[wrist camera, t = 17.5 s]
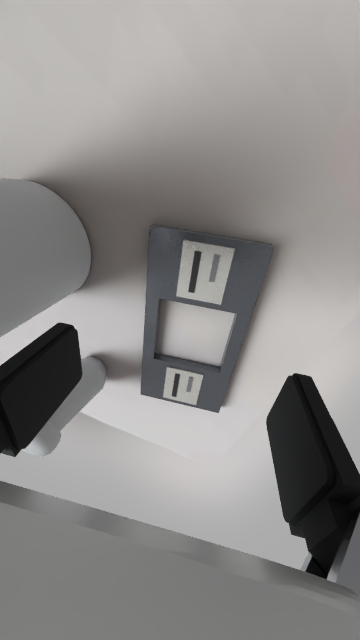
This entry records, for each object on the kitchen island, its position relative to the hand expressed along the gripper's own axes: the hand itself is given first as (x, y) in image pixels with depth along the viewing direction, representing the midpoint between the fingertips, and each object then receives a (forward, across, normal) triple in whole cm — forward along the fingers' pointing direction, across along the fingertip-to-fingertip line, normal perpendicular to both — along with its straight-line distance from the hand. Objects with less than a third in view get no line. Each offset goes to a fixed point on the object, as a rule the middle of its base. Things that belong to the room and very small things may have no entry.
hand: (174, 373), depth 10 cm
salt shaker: (+16, +14, +18) cm, 28 cm away
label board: (+16, 0, +8) cm, 18 cm away
